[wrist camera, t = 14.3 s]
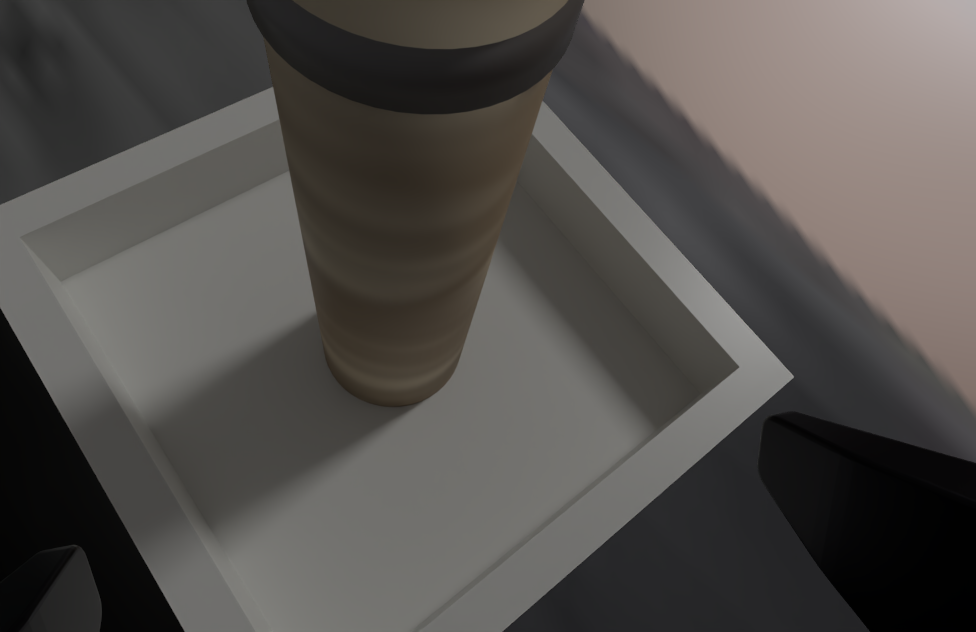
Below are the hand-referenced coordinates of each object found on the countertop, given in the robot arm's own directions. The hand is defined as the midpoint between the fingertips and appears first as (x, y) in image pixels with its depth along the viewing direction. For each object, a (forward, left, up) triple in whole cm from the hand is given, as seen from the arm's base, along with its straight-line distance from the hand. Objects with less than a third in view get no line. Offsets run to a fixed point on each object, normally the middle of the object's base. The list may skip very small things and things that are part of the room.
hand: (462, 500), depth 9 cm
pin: (+5, +2, -8) cm, 9 cm away
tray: (+5, +2, -8) cm, 10 cm away
